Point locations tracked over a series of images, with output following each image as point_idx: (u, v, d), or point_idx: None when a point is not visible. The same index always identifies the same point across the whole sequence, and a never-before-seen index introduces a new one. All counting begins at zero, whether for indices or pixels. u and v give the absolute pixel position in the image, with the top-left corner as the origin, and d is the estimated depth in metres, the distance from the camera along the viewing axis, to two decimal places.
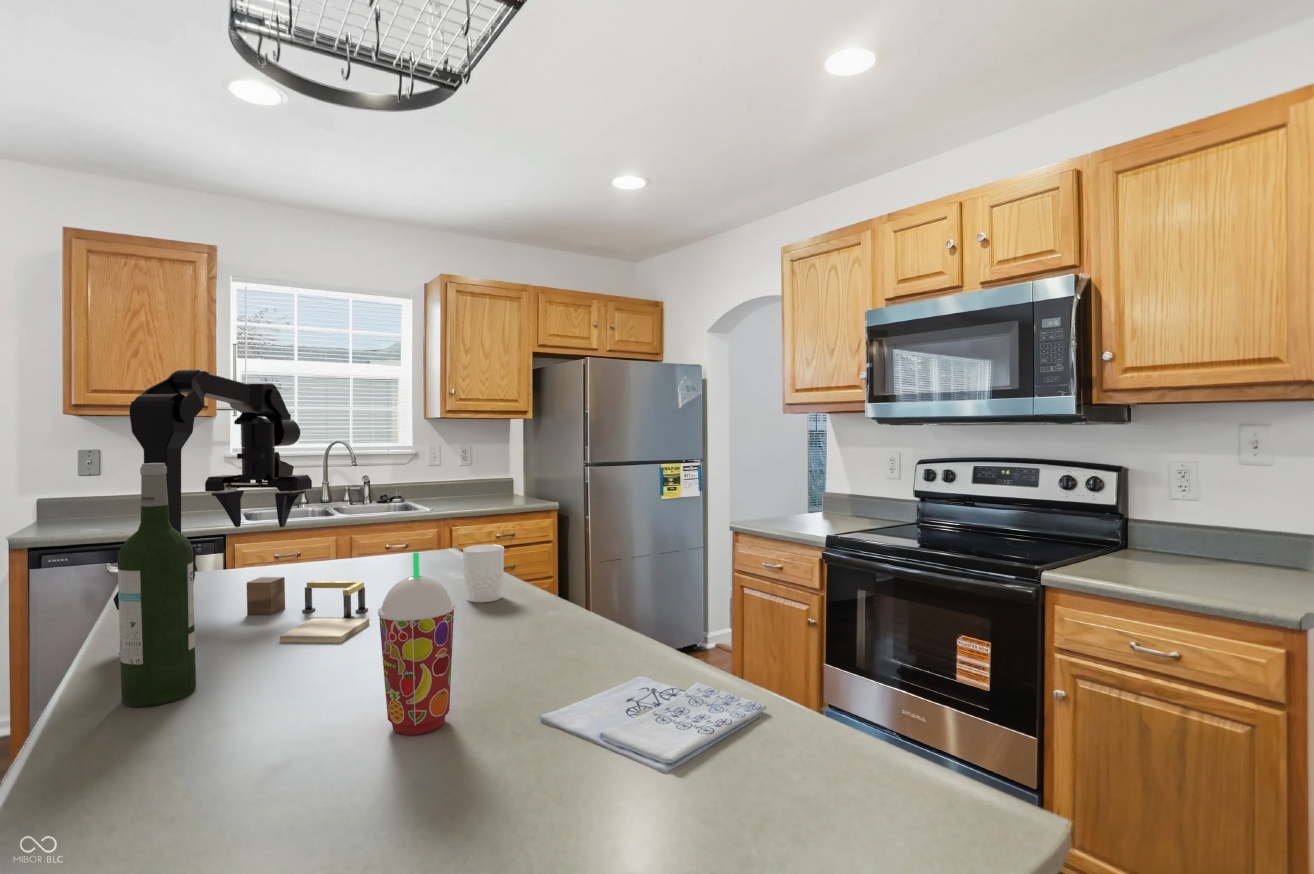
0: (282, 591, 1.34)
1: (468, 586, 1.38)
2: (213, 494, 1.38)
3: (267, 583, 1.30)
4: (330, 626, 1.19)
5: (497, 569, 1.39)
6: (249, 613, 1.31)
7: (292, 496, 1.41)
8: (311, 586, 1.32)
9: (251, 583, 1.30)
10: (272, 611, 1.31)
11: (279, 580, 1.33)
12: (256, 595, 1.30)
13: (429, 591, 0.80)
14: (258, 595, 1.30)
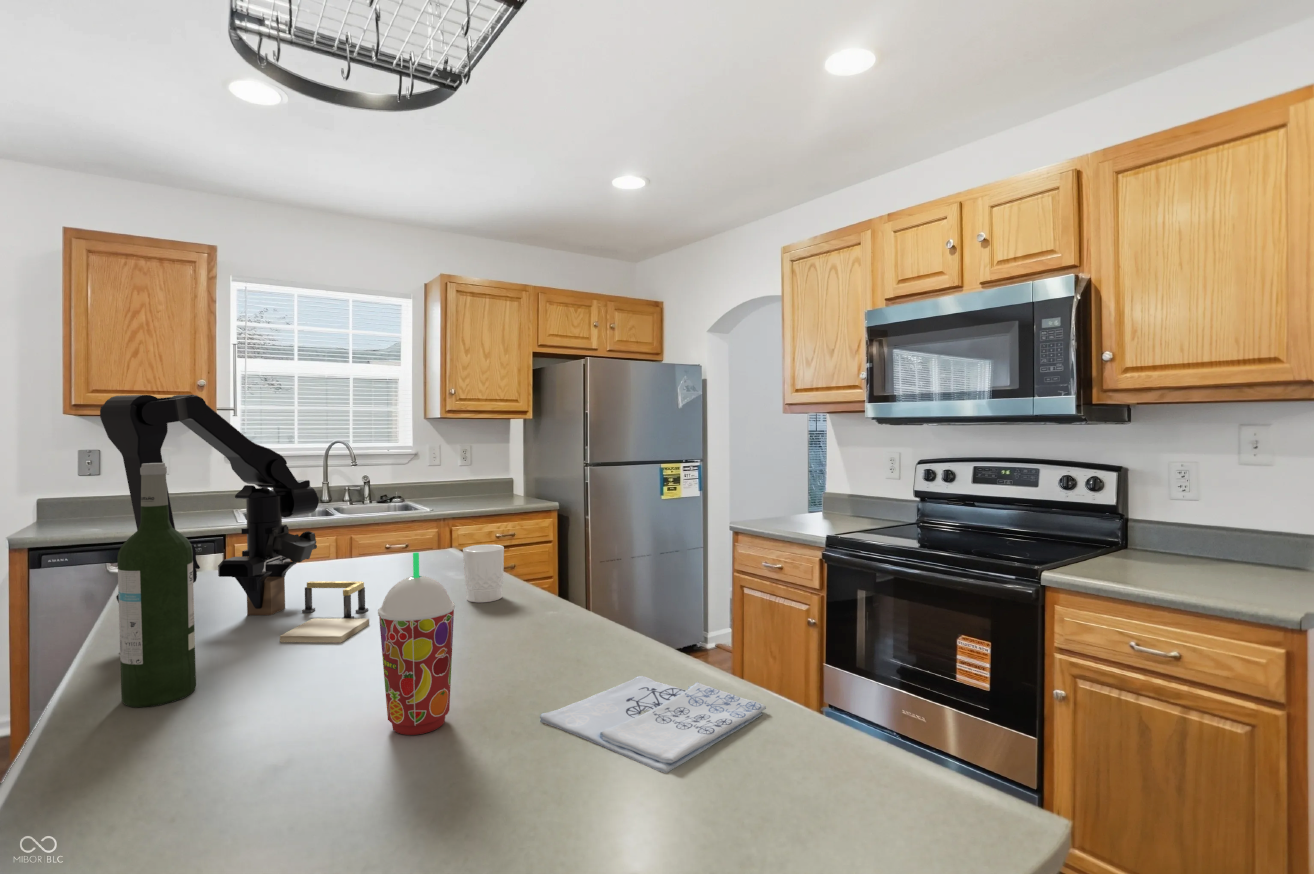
0: (282, 591, 1.34)
1: (468, 586, 1.38)
2: None
3: (267, 583, 1.30)
4: (330, 626, 1.19)
5: (497, 569, 1.39)
6: (249, 613, 1.30)
7: None
8: (311, 586, 1.32)
9: None
10: (272, 611, 1.31)
11: (279, 580, 1.33)
12: None
13: (429, 591, 0.80)
14: None
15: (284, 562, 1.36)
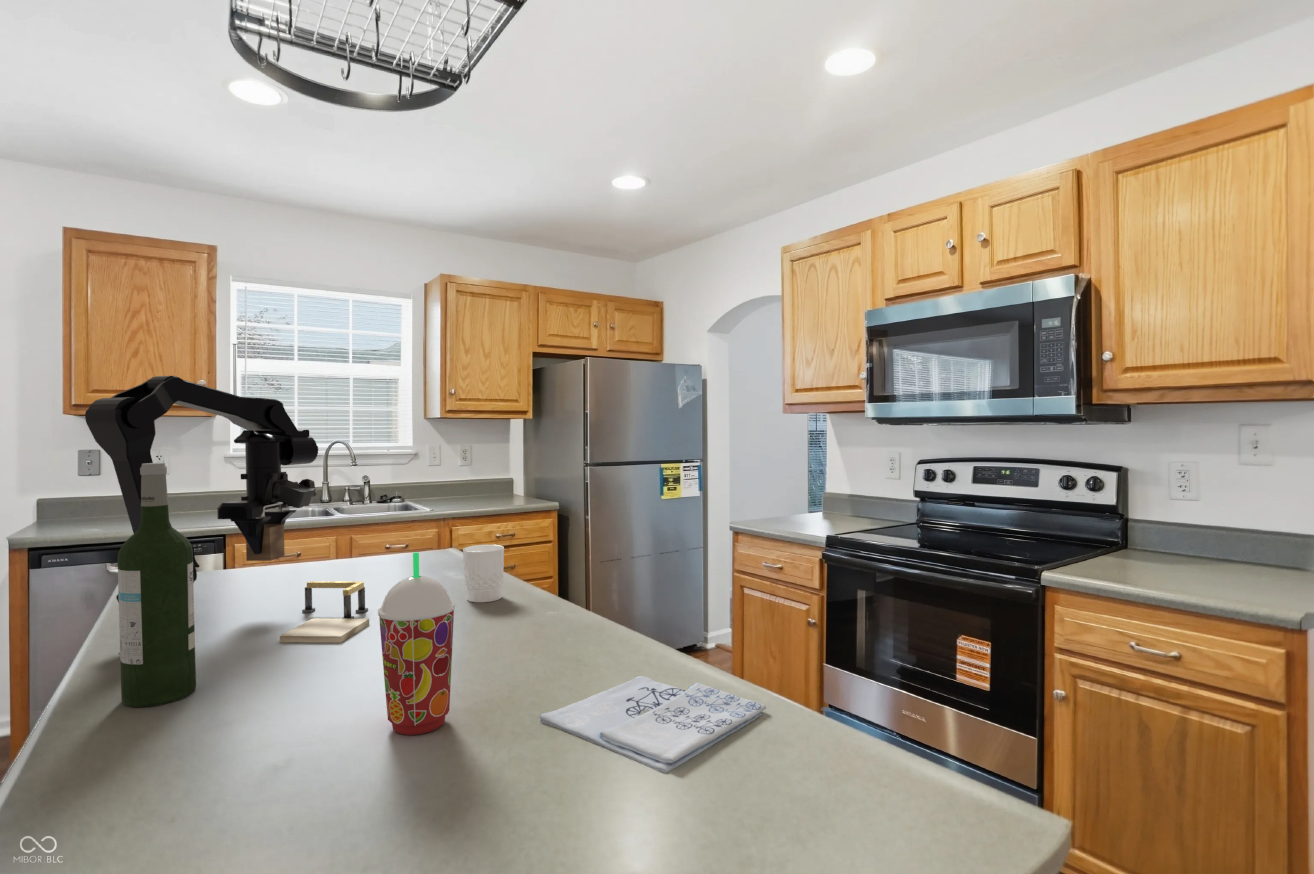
0: (282, 538, 1.34)
1: (468, 586, 1.38)
2: None
3: (266, 528, 1.30)
4: (330, 626, 1.19)
5: (497, 569, 1.39)
6: (248, 559, 1.30)
7: None
8: (311, 586, 1.32)
9: None
10: (271, 557, 1.30)
11: (278, 526, 1.33)
12: None
13: (429, 591, 0.80)
14: None
15: (283, 510, 1.36)
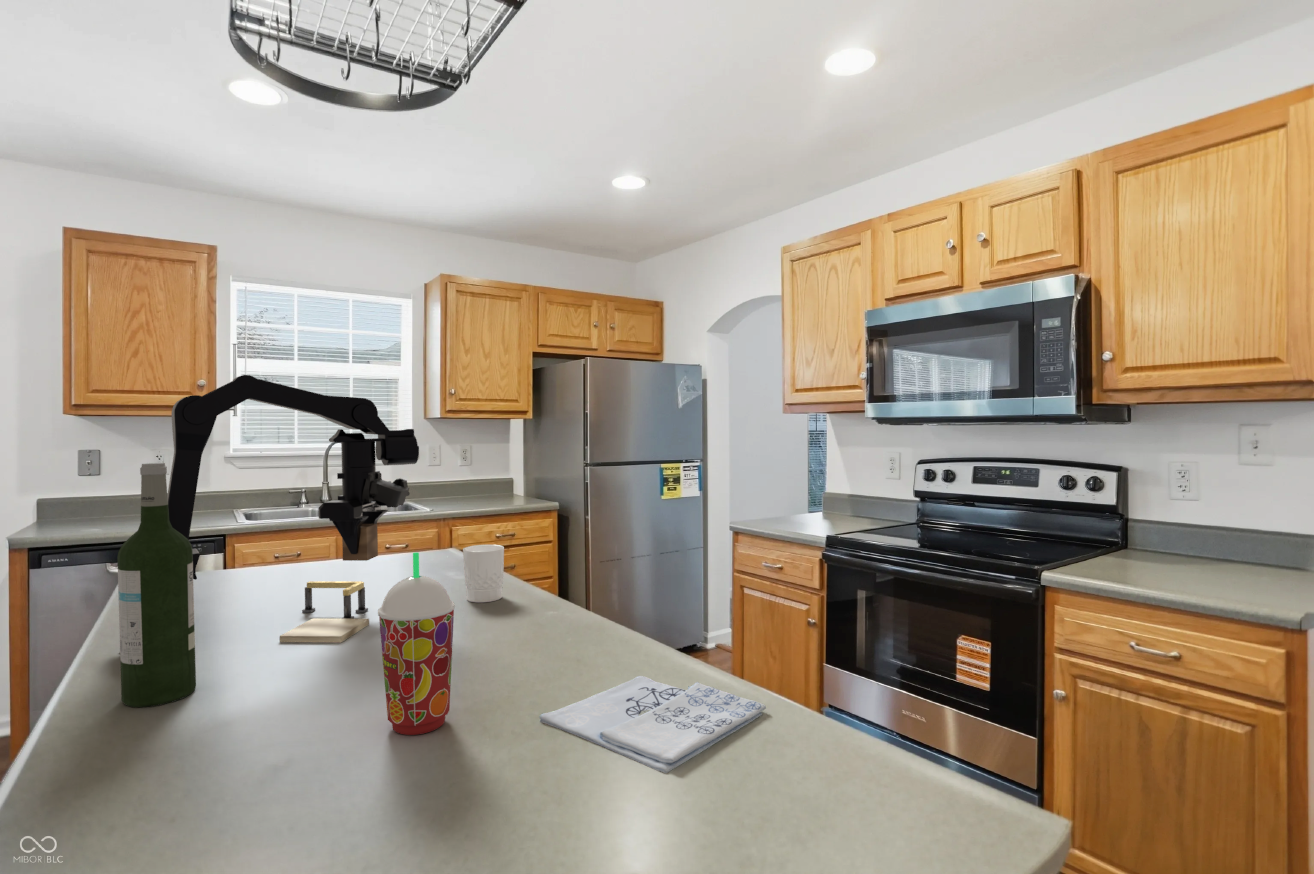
0: (376, 537, 1.33)
1: (468, 586, 1.38)
2: None
3: (363, 528, 1.29)
4: (330, 626, 1.19)
5: (497, 569, 1.39)
6: (345, 558, 1.29)
7: (353, 522, 1.27)
8: (311, 586, 1.32)
9: None
10: (367, 556, 1.30)
11: (373, 526, 1.32)
12: None
13: (429, 591, 0.80)
14: None
15: (376, 510, 1.35)
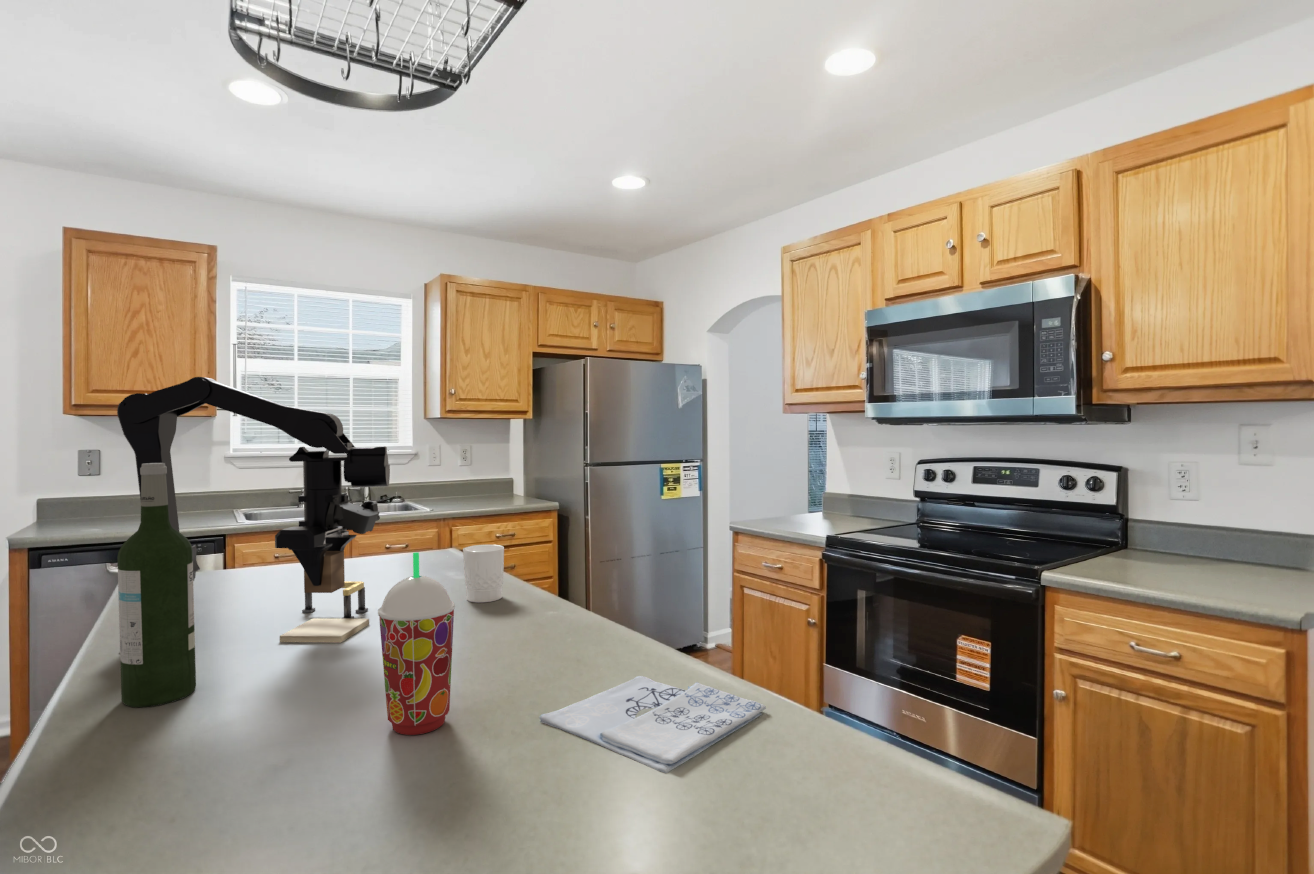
0: (342, 566, 1.20)
1: (468, 586, 1.38)
2: None
3: (327, 557, 1.16)
4: (330, 626, 1.19)
5: (497, 569, 1.39)
6: (306, 590, 1.17)
7: (316, 551, 1.14)
8: None
9: None
10: (332, 588, 1.17)
11: (339, 554, 1.19)
12: None
13: (429, 591, 0.80)
14: None
15: (343, 535, 1.22)
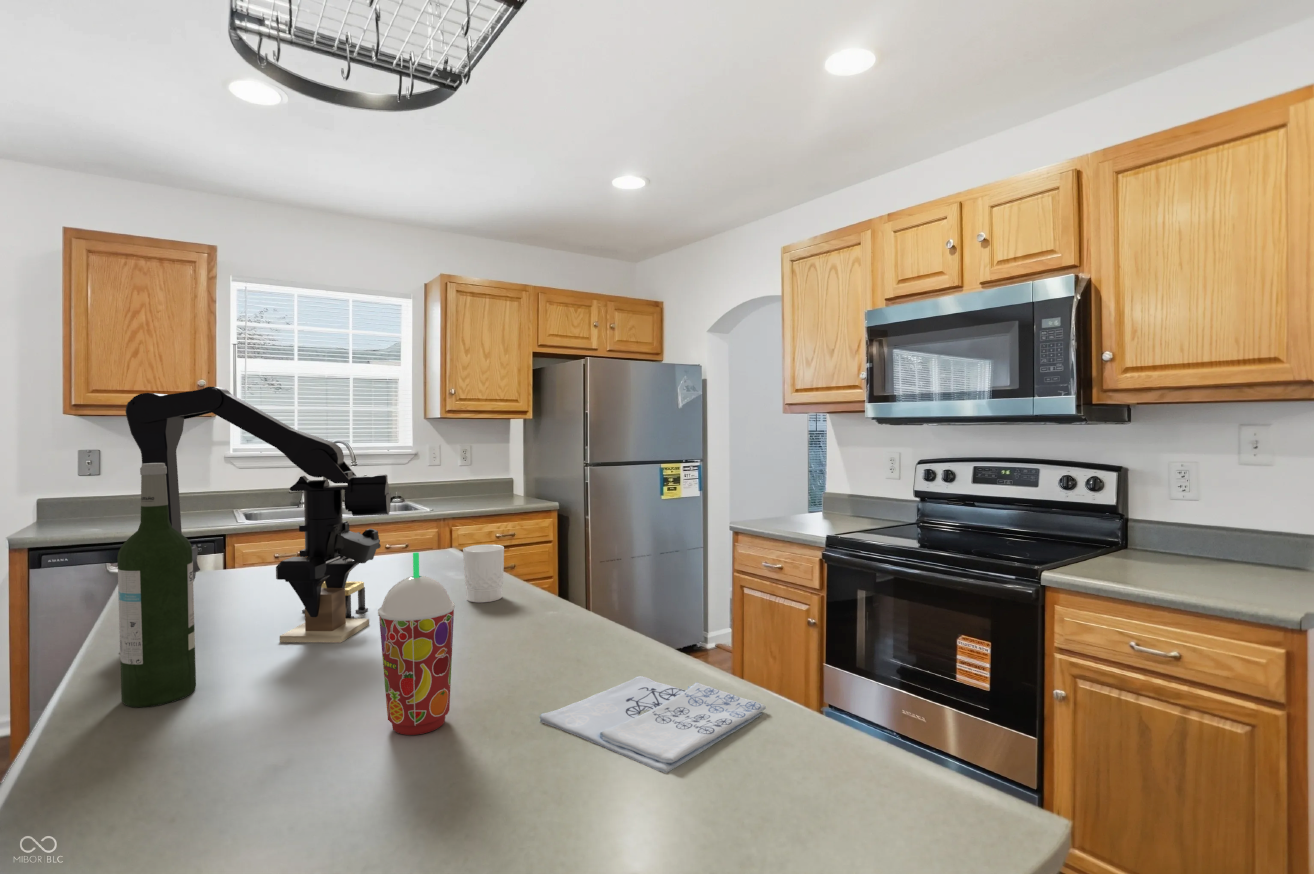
0: (343, 603, 1.20)
1: (468, 586, 1.38)
2: None
3: (328, 595, 1.16)
4: None
5: (497, 569, 1.39)
6: (307, 629, 1.17)
7: (313, 582, 1.13)
8: None
9: None
10: (333, 626, 1.17)
11: (340, 591, 1.19)
12: None
13: (429, 591, 0.80)
14: None
15: (347, 562, 1.23)
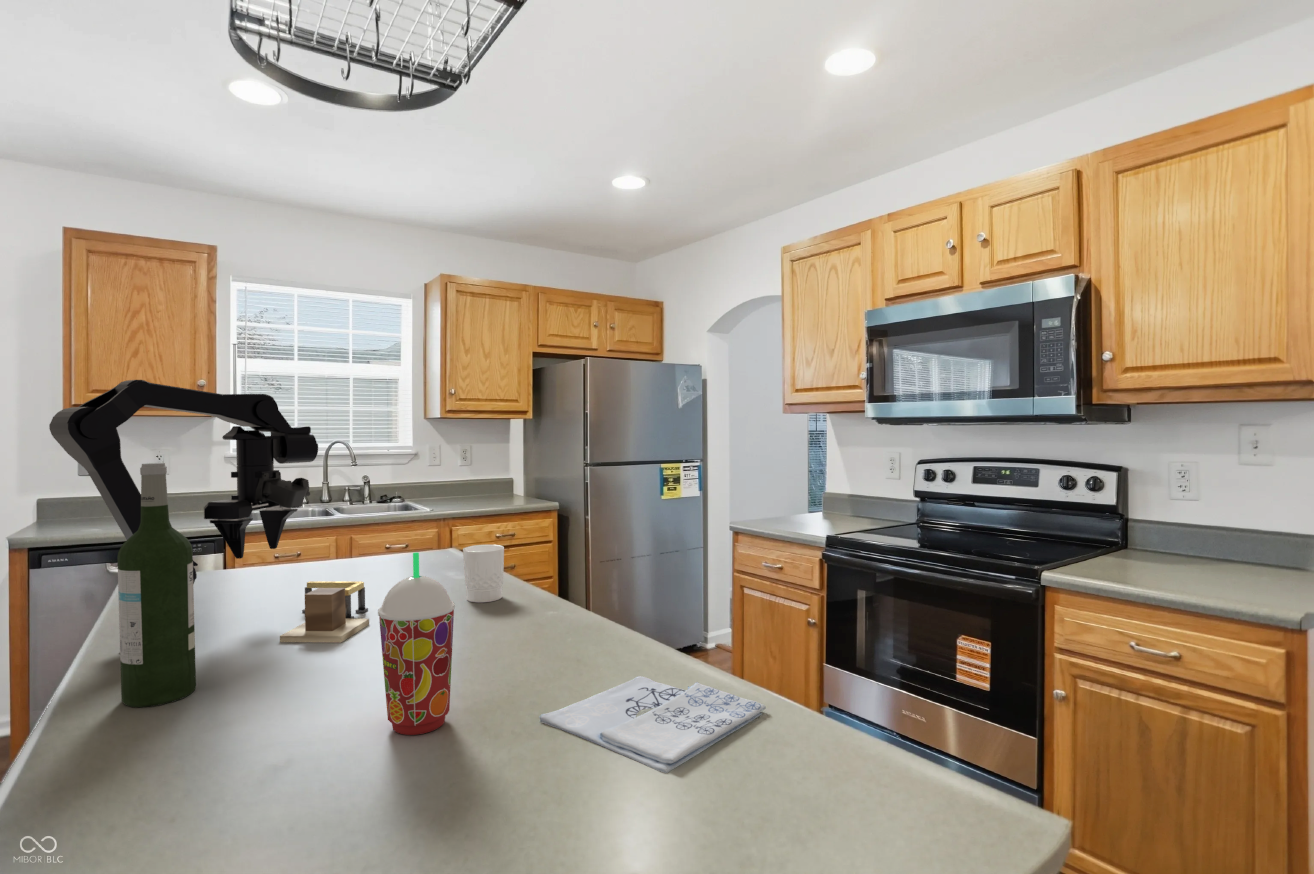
0: (343, 603, 1.20)
1: (468, 586, 1.38)
2: None
3: (328, 595, 1.16)
4: None
5: (497, 569, 1.39)
6: (307, 629, 1.17)
7: None
8: (311, 586, 1.32)
9: (310, 595, 1.17)
10: (333, 626, 1.17)
11: (340, 591, 1.19)
12: (315, 608, 1.17)
13: (429, 591, 0.80)
14: (318, 608, 1.17)
15: (284, 509, 1.32)
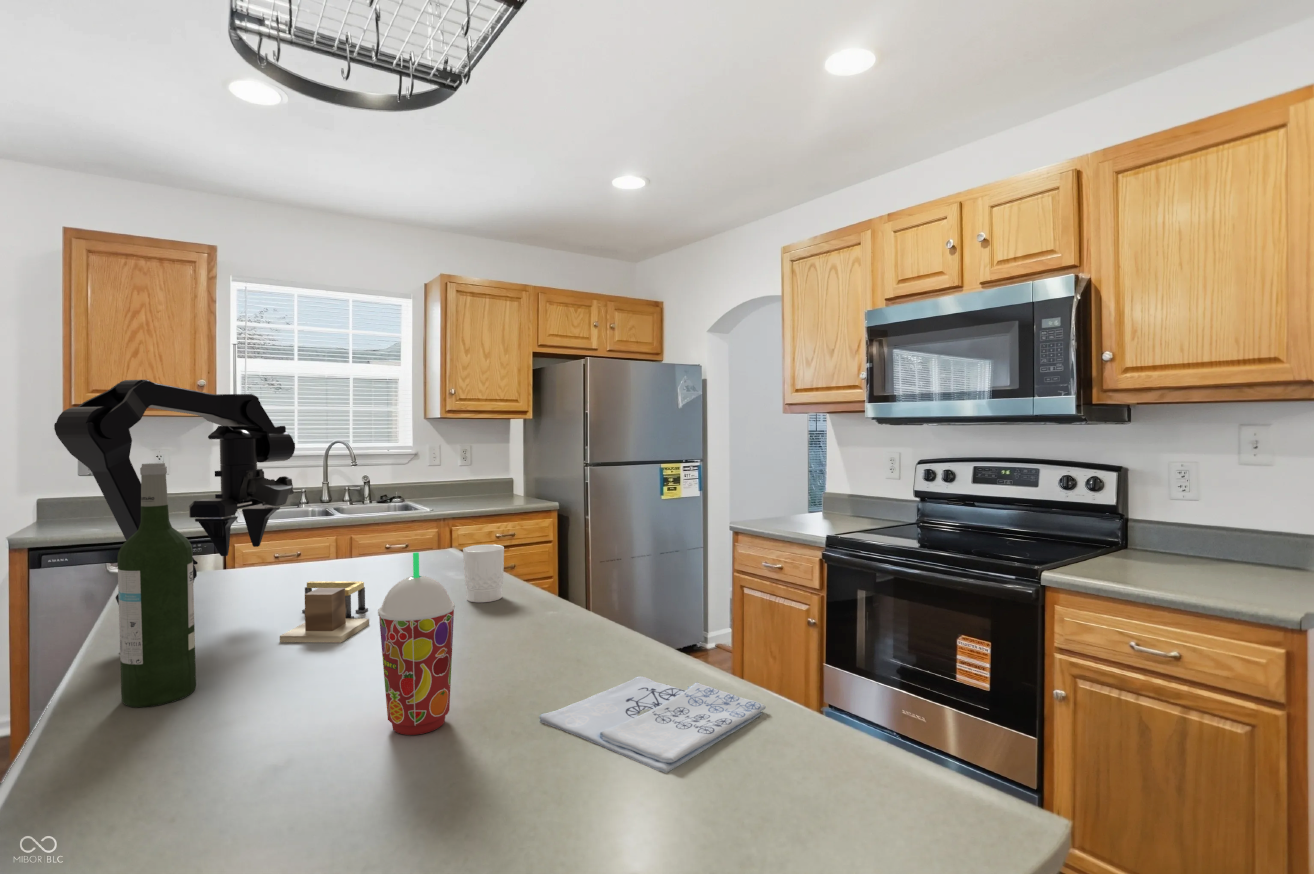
0: (343, 603, 1.20)
1: (468, 586, 1.38)
2: None
3: (328, 595, 1.16)
4: None
5: (497, 569, 1.39)
6: (307, 629, 1.17)
7: None
8: (311, 586, 1.32)
9: (310, 595, 1.17)
10: (333, 626, 1.17)
11: (340, 591, 1.19)
12: (315, 608, 1.17)
13: (429, 591, 0.80)
14: (318, 608, 1.17)
15: (267, 507, 1.34)
